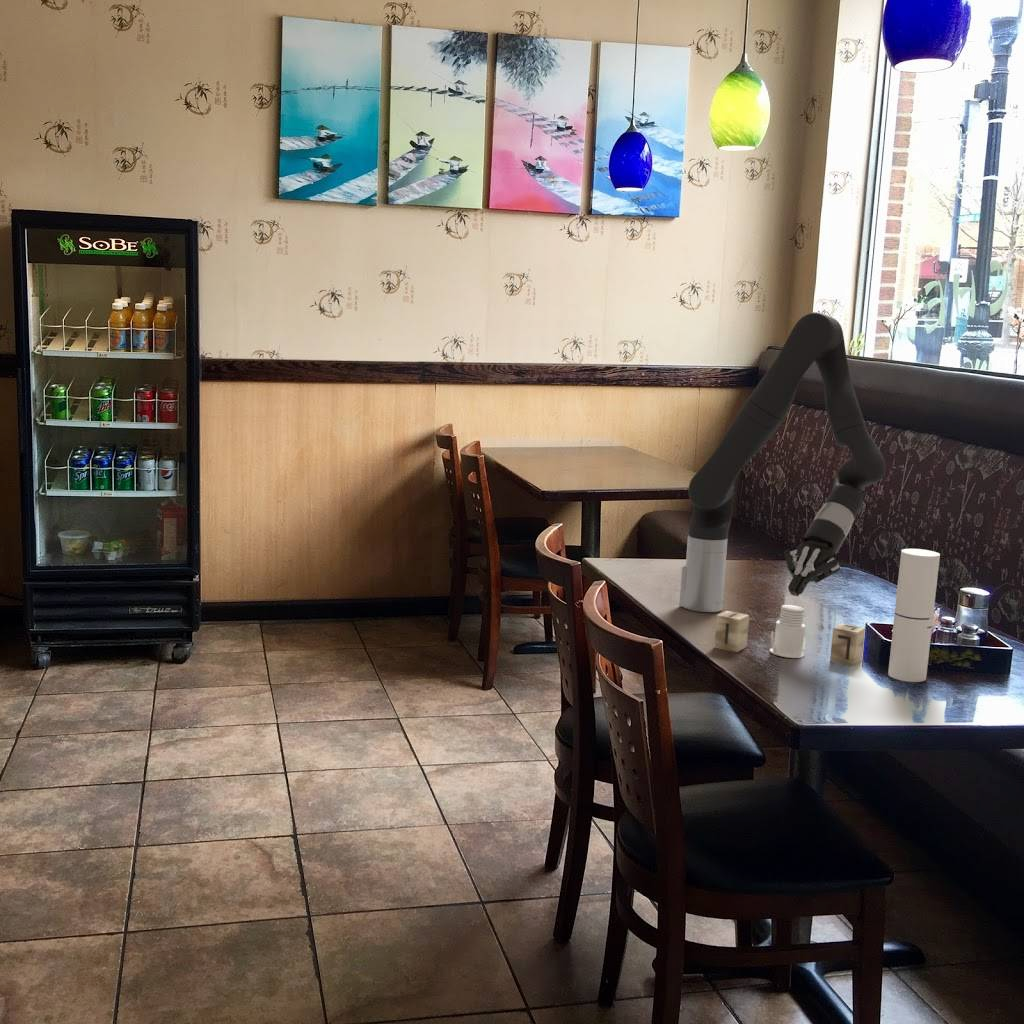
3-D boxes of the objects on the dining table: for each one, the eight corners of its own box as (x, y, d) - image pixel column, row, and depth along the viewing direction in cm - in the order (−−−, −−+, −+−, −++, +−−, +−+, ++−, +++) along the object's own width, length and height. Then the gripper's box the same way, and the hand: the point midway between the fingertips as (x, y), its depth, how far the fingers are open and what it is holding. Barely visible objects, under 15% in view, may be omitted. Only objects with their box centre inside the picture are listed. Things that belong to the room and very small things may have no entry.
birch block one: (714, 647, 248) (716, 614, 247) (724, 642, 252) (727, 610, 251) (736, 652, 245) (739, 619, 244) (746, 647, 250) (749, 614, 248)
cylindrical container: (880, 672, 236) (893, 549, 232) (909, 669, 239) (923, 548, 235) (904, 683, 230) (917, 557, 226) (933, 680, 232) (948, 555, 228)
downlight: (778, 659, 242) (784, 611, 240) (761, 649, 248) (767, 603, 247) (812, 659, 244) (819, 612, 242) (794, 649, 251) (801, 603, 249)
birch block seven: (829, 661, 243) (833, 627, 241) (838, 655, 247) (841, 622, 245) (853, 666, 240) (857, 632, 239) (862, 660, 244) (865, 627, 243)
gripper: (796, 512, 253) (759, 576, 246) (852, 522, 244) (816, 589, 237) (807, 534, 257) (771, 597, 251) (863, 545, 248) (827, 610, 242)
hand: (793, 593), depth 244 cm, fingers closed
